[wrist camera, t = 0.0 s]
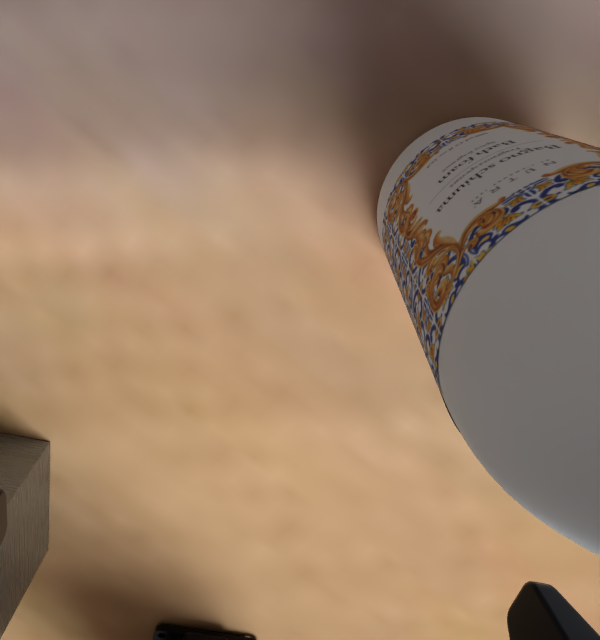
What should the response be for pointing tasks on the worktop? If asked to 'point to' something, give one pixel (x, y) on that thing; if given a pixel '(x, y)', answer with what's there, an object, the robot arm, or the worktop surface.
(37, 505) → the block
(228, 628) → the worktop surface
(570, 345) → the bath foam
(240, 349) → the worktop surface
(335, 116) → the worktop surface
